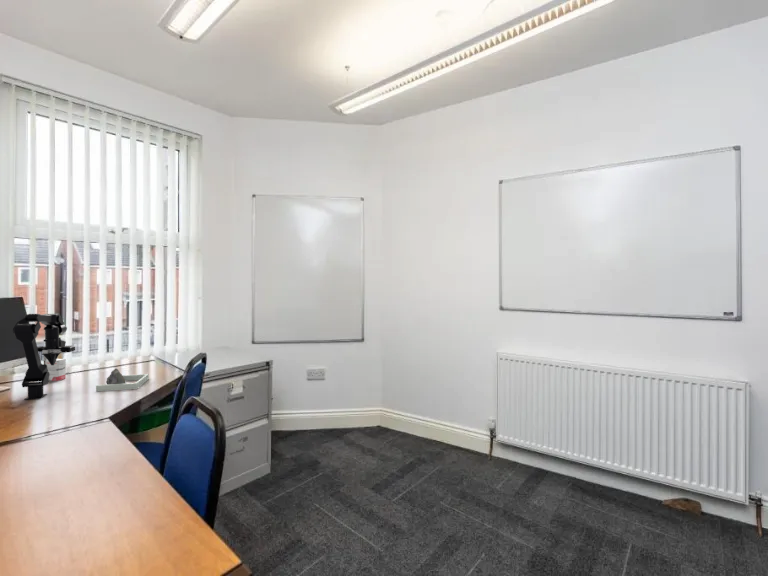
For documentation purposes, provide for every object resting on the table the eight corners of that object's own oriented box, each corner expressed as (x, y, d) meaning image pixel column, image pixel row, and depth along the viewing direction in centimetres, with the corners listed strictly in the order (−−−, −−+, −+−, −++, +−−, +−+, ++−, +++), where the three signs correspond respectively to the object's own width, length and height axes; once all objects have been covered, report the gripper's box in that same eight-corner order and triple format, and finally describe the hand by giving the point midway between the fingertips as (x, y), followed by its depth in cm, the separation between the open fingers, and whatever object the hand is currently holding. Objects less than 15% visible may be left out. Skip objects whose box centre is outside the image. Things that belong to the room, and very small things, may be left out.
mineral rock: (108, 383, 213) (108, 365, 212) (130, 381, 217) (130, 364, 216) (101, 390, 201) (100, 371, 200) (124, 388, 205) (124, 369, 205)
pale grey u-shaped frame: (136, 388, 204) (136, 383, 204) (96, 391, 199) (95, 385, 198) (148, 378, 222) (148, 373, 222) (111, 381, 217) (111, 375, 217)
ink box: (66, 378, 220) (66, 358, 220) (58, 381, 215) (57, 360, 215) (53, 377, 221) (52, 358, 221) (44, 380, 216) (44, 360, 216)
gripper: (80, 333, 213) (80, 360, 214) (41, 334, 209) (41, 362, 210) (69, 337, 203) (69, 365, 203) (27, 338, 198) (28, 367, 199)
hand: (52, 365), depth 204 cm, fingers closed
